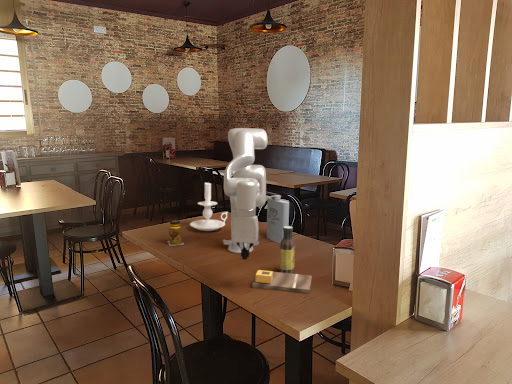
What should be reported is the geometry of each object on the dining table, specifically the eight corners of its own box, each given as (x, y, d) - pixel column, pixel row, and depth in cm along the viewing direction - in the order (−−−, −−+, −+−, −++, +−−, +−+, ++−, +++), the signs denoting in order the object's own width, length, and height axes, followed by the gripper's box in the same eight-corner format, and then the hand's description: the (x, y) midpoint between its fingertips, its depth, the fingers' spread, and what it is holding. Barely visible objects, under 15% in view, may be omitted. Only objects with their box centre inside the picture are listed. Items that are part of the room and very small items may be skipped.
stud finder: (255, 281, 152) (255, 274, 151) (258, 277, 157) (258, 269, 156) (270, 283, 151) (271, 275, 150) (272, 278, 155) (273, 271, 155)
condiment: (169, 246, 197) (169, 223, 195) (166, 241, 205) (166, 219, 203) (184, 244, 200) (184, 222, 198) (180, 240, 208) (180, 218, 205)
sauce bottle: (295, 274, 165) (297, 229, 162) (281, 275, 164) (283, 229, 160) (291, 268, 171) (293, 224, 168) (277, 269, 170) (279, 225, 166)
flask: (264, 236, 217) (265, 192, 213) (271, 235, 220) (272, 192, 215) (281, 245, 203) (283, 198, 198) (288, 244, 205) (290, 197, 200)
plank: (252, 287, 151) (252, 283, 151) (259, 273, 165) (259, 270, 165) (309, 293, 147) (309, 289, 147) (311, 279, 161) (311, 275, 160)
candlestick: (237, 229, 231) (238, 182, 225) (201, 236, 215) (201, 186, 210) (218, 221, 246) (218, 177, 241) (183, 227, 231) (183, 181, 225)
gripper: (224, 213, 148) (224, 259, 151) (263, 216, 145) (261, 263, 148) (229, 209, 155) (229, 254, 158) (266, 212, 152) (265, 257, 155)
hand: (245, 258), depth 153 cm, fingers closed
